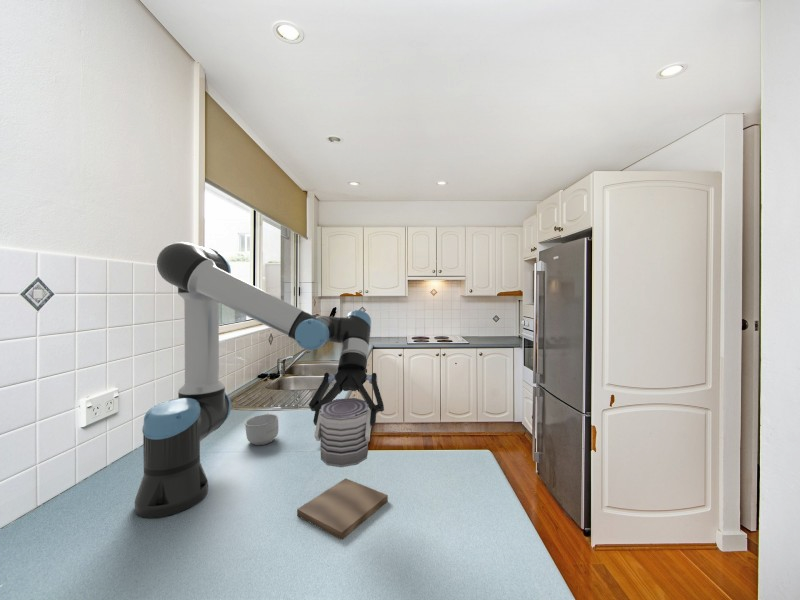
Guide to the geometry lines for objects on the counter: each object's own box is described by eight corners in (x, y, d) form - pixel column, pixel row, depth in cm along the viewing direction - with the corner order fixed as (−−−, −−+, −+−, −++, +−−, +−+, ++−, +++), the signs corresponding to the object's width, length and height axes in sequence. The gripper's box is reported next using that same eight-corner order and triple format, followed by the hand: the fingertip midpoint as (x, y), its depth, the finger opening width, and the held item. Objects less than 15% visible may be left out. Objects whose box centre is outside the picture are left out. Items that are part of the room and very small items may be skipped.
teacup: (271, 448, 112) (271, 424, 112) (239, 448, 113) (238, 424, 113) (286, 432, 126) (286, 410, 126) (257, 431, 127) (257, 410, 127)
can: (378, 452, 82) (378, 402, 82) (345, 472, 72) (345, 416, 72) (344, 441, 88) (343, 395, 88) (309, 458, 79) (309, 407, 79)
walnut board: (341, 539, 70) (341, 532, 70) (297, 515, 77) (297, 509, 77) (387, 501, 83) (387, 495, 83) (345, 483, 91) (345, 478, 91)
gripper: (396, 366, 95) (393, 445, 80) (314, 366, 96) (295, 444, 80) (395, 350, 90) (392, 432, 74) (308, 350, 91) (287, 431, 75)
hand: (342, 438), depth 77 cm, fingers closed on can, 11 cm apart
